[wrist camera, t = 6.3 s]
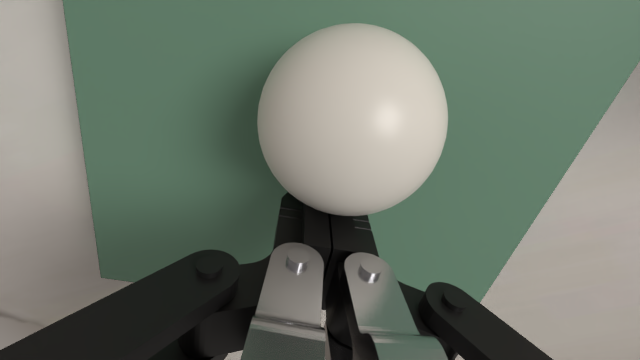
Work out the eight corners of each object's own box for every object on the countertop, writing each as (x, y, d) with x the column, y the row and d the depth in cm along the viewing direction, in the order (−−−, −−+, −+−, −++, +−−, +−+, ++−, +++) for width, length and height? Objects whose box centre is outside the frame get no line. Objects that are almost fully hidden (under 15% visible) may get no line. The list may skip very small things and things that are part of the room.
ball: (401, 145, 12) (464, 11, 9) (413, 263, 9) (521, 130, 5) (274, 121, 12) (281, -27, 8) (238, 234, 9) (225, 74, 5)
